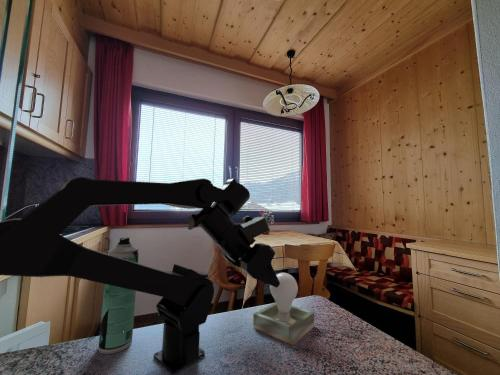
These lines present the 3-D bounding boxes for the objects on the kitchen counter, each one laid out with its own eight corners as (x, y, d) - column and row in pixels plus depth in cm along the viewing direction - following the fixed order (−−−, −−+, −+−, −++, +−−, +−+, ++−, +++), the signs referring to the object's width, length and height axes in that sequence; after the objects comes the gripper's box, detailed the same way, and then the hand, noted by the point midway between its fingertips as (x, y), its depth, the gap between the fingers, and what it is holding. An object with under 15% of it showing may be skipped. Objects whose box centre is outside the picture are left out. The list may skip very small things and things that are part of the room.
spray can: (132, 335, 45) (140, 236, 48) (131, 349, 40) (139, 238, 43) (100, 341, 43) (110, 237, 46) (95, 357, 38) (107, 239, 41)
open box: (253, 328, 49) (253, 313, 49) (277, 313, 57) (277, 301, 57) (293, 345, 43) (293, 328, 43) (314, 326, 50) (314, 312, 51)
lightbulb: (278, 333, 46) (277, 277, 47) (265, 319, 51) (265, 270, 53) (304, 327, 48) (303, 275, 49) (289, 315, 54) (288, 268, 55)
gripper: (266, 201, 41) (315, 259, 44) (235, 205, 58) (271, 247, 61) (223, 245, 37) (280, 306, 40) (203, 236, 54) (244, 279, 57)
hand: (268, 279), depth 49 cm, fingers open, 9 cm apart
